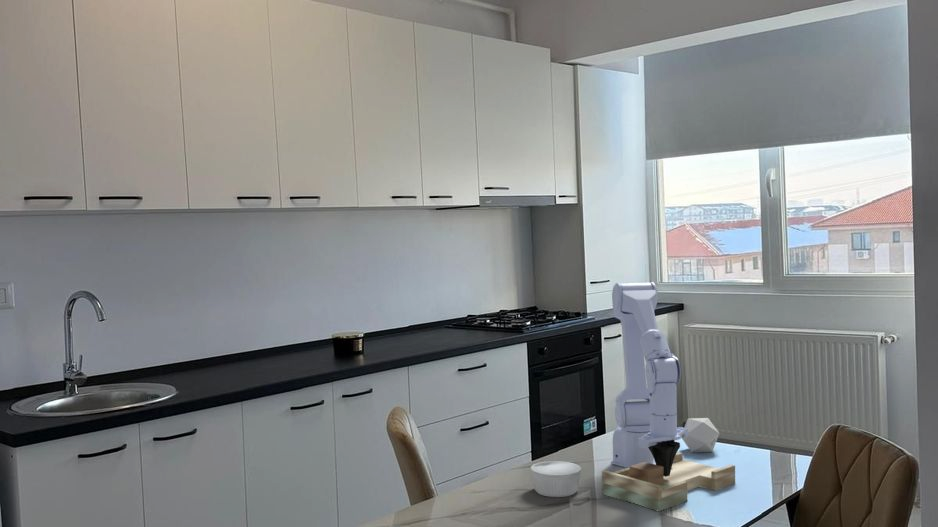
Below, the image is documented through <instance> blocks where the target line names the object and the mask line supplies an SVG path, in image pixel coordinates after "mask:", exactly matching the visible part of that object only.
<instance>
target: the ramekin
mask: <svg viewBox="0 0 938 527" xmlns="http://www.w3.org/2000/svg"><path fill="white" fill-rule="evenodd" d="M529 468H530V470H529V471H530V473H531V477H532V479H531V480H532V486H533V489H534V490H535V492H536V493H537V494H538V495H541V496H545V497H547V498H548V497H550V498H564V497H570V496H572V495H575V494H576V493H577V491H578V490H579V485H580V479H581V473H582V467H581V466H580V465H579V464H577V463H573V462H569V461H561V460H560V461H559V460H558V461H557V460H555V461H554V460H553V461H552V460H551V461H550V460H549V461H542V462H537V463H534V464H531V466H530V467H529Z"/></svg>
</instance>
